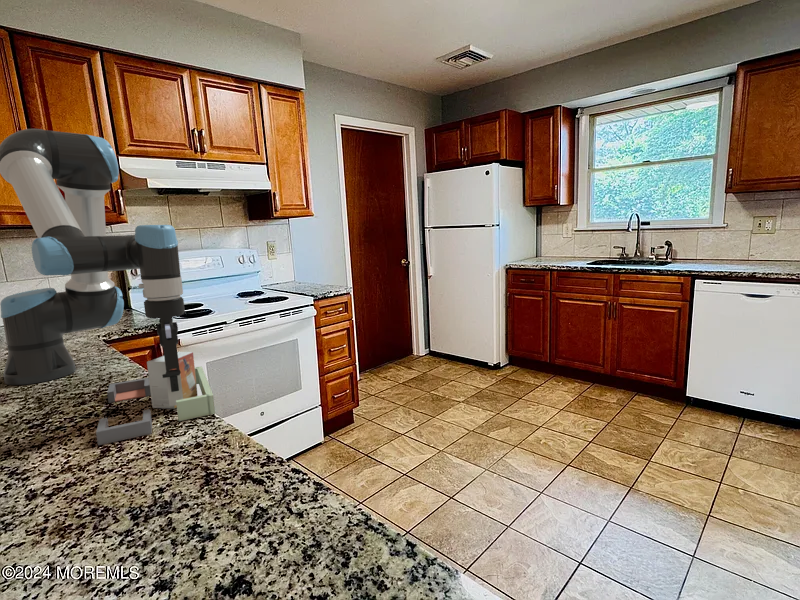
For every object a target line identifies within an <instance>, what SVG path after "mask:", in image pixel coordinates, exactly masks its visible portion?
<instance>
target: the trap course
mask: <svg viewBox="0 0 800 600" xmlns="http://www.w3.org/2000/svg"><path fill="white" fill-rule="evenodd" d="M195 376H196V385H199V390H200V392H201V395H197V396H196V397H191V398H186V399H181V400H176V404H177V407H176V410H177V411H176V412H177V420H178V422H181V421H186V420H191V419H195V418H200V417H205V416H208V415H214V414H216V409H215V398H214V394H213V391H212V388H211V386H210V384H209V380H208V379H207V376H206V373H205V371H204V369H203V366H195ZM106 393H107V400H108V404H112V403H117V402H123V400H124V401H128V400H134V399H139V398H144V397H151V392H150V384H149V377H145V378H144V377H143V378H138V379H137V378H136V379H132V380H131V379H130V380H126V381H125V380H124V381H120V382H119V381H118V382H114V383H109V384H108V389H107V392H106ZM152 419H153V418H152V413H151V408H148V409H144V410H142V420H138V421H133V422H128V423H124V424H119V425H118V424H117V425H114V426H110V427H109V421H108V420H109V419H108V417H103V418H99V421H98V424H97V428H96V432H95V435H96V443H97V446H102V445H107V444H111V443H115V442H119V441H123V440H124V441H125V440H129V439H134V438H137V437H141V436H147V435H151V434H152V433H153V431H152V429H153V424H152V423H153V420H152Z"/></svg>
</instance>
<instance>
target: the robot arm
mask: <svg viewBox="0 0 800 600" xmlns="http://www.w3.org/2000/svg"><path fill="white" fill-rule="evenodd" d="M119 169H120V168H119V164H118V159H117V156H116V153H115V151H114V149H113V147H112V145H111V143H110V142H109V141H108V140H106V139H105V138H103V137H99V136H96V135H90V134H87V133H86V134H85V133H77V132H76V133H75V132H67V131H66V132H65V131H58V130H57V131H56V130H48V129H42V128H26V129H21V130H18V131H16V132H14V133H12V134H10V135H8V136H7V137H6V138H4V140H2V142H0V175H1V177H2V178H3V179H4V180H5V181H6V182H7V183H9V184H10V185H11V187H13V190H14V192H15V194H16V196H17V198H18V200H19V202H20V204H21V206H22V207H23V210H24V212H25V215H26V216H27V219H28V221H29V222H30V225H31V226H32V228H33V230H34V232H35V234H36V237H37V238H35V239H34V240H32V244H31V255H32V256H31V257H32V260H33V262H34V263H33V264H34V267H35V269H36V271H37V272H38V273H39V274H40V275H43V276H69V275H70V277H71V278H70V279H69V280H68V281H66V283H65V284H64V289H65V290H64V291H59V292H57V290H56V289H55V288H53V287H45V288H40V289H32V290H26V291H22V292H18V293H14V294H11V295H7V296H5V297H4V298H2V299H1V301H0V318H1V320H2V324H3V329H4V336H5V340H6V346H7V352H8V355H7V358H6V362H5V366H4V371H3V381H4V384H6V385H11V386H21V385H32V384H39V383H43V382H44V383H45V382H49V381H52V380H57V379H59V378H63V377H66V376H68V375H71V374H73V373H74V372H76V361H74V359H73V357H72V355H71V354H70V352H69V350H68V349H67V347H66V345H65V343H64V337H63V336H64V334H69V333H70V334H71V333H76V332H77V333H78V332H83V331H89V330H95V329H104V328H106V327H110V326H114V325H116V324H118V323H119V322H120V320H121V319H122V317H123V315H124V307H125V301H124V299H123V292H122V290H121V288H119V287H118V286H115V285H116V283H115V282H114V281H113V280H111V278H109V272H115V271H129V270H139V272H140V279H141V283H139V284H138V288H139V289H142V295H143V298H145V300H144V301H143V306H144V314H145V315H144V316H145V317H146V318H148V319H154V320H156V319H159V321H158V322H159V323H157V324H156V333H157V335H158V338H159V345H160V346H161V347H162V349H163V354H162V356H164V358H165V366H166V374H163V375H162V376H163V378H166V381H167V389H168V398H169V406H175V405H177V404H176V400H181V399H183V392H182V384H181V375H180V373H181V371H180V370H179V361H178V353H177V352H178V346H177V345H178V344H179V338H178V337H179V336H178V332H179V327H178V323H177V321H176V322H175V321H174V322H173V318H174V317H179V316H182V315H184V314H185V310H186V309H185V300H184V298H183V297H182V295H183V294H184V289H183V282H182V276H181V267H180V259H179V258H180V257H179V245H178V244H179V241H178V238H177V233H176V229H175V227H174V226H173V225H172V224H141V225H136V227H135V229H134V234H127V235H123V234H122V235H107V232H106V231H107V230H106V229H107V228H106V227H107V226H106V210H105V209H106V208H105V196H106V194H107V193H108V192H110V191H111V184H114V183H116V182H117V181H118V179H119V175H120V171H119ZM55 180H56V182H55ZM60 190H61V191H63V193H64V196H63V195H62V193H61V191H60ZM170 369H175V370H170Z"/></svg>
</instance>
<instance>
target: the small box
mask: <svg viewBox="0 0 800 600" xmlns="http://www.w3.org/2000/svg"><path fill="white" fill-rule="evenodd" d="M177 353H178V361H179V370H180V371H181V373H180V375H181V384H182V392H183V399H186V398H191V397H196V396H198V387H197V385H198V384H196V376H195V367H196V366H195V359H194V358H195V357H194V352H192V351H177ZM146 367H147V374H148V378H149V384H150V392H151V396H150V399H151V406H152V408H153V409H168V410H169V409H173V410H174V409H177V405H175V406H169V398H168V389H167V381H166V378H163V376H162V375H163V374H166V366H165V358H164V356H163V355H162V356H159V357H156V358H154V359H152V360H148V361H146ZM170 370H175V369H170Z"/></svg>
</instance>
